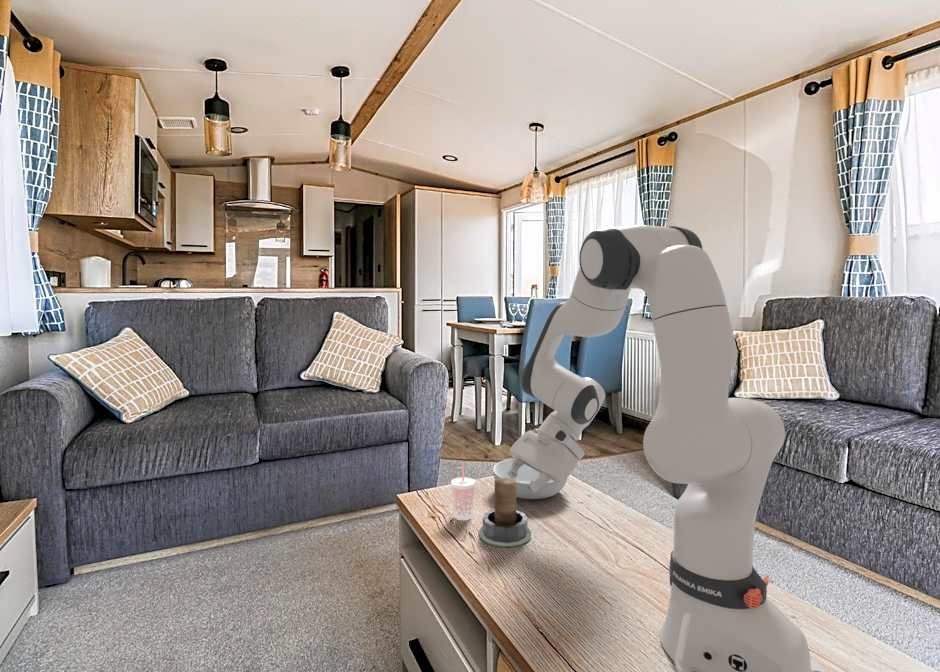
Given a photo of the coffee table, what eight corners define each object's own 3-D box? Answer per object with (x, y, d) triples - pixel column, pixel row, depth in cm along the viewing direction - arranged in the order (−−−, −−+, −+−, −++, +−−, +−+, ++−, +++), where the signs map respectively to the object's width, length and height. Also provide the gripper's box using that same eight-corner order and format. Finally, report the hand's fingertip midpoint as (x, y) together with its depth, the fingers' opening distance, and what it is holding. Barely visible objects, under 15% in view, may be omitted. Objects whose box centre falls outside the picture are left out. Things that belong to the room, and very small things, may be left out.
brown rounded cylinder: (520, 532, 119) (520, 481, 118) (506, 539, 115) (506, 487, 114) (504, 525, 122) (504, 476, 121) (490, 532, 119) (490, 481, 118)
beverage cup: (480, 518, 128) (480, 463, 127) (459, 523, 125) (458, 467, 123) (467, 509, 133) (467, 456, 132) (446, 514, 130) (446, 460, 129)
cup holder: (541, 534, 119) (541, 517, 118) (507, 553, 110) (507, 534, 110) (503, 518, 127) (503, 502, 127) (468, 534, 119) (468, 517, 119)
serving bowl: (484, 502, 137) (483, 477, 137) (503, 476, 157) (503, 454, 157) (562, 512, 131) (562, 486, 130) (572, 483, 151) (572, 460, 150)
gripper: (525, 419, 131) (491, 462, 128) (573, 439, 112) (535, 489, 109) (540, 434, 133) (507, 477, 130) (589, 456, 115) (552, 506, 111)
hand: (520, 483), depth 119 cm, fingers open, 8 cm apart
